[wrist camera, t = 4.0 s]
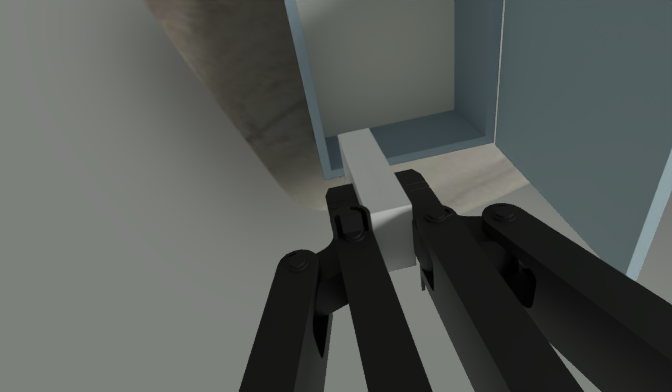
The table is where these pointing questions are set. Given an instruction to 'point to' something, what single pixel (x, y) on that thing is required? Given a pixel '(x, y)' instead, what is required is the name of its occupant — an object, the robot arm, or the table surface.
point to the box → (398, 73)
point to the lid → (592, 115)
